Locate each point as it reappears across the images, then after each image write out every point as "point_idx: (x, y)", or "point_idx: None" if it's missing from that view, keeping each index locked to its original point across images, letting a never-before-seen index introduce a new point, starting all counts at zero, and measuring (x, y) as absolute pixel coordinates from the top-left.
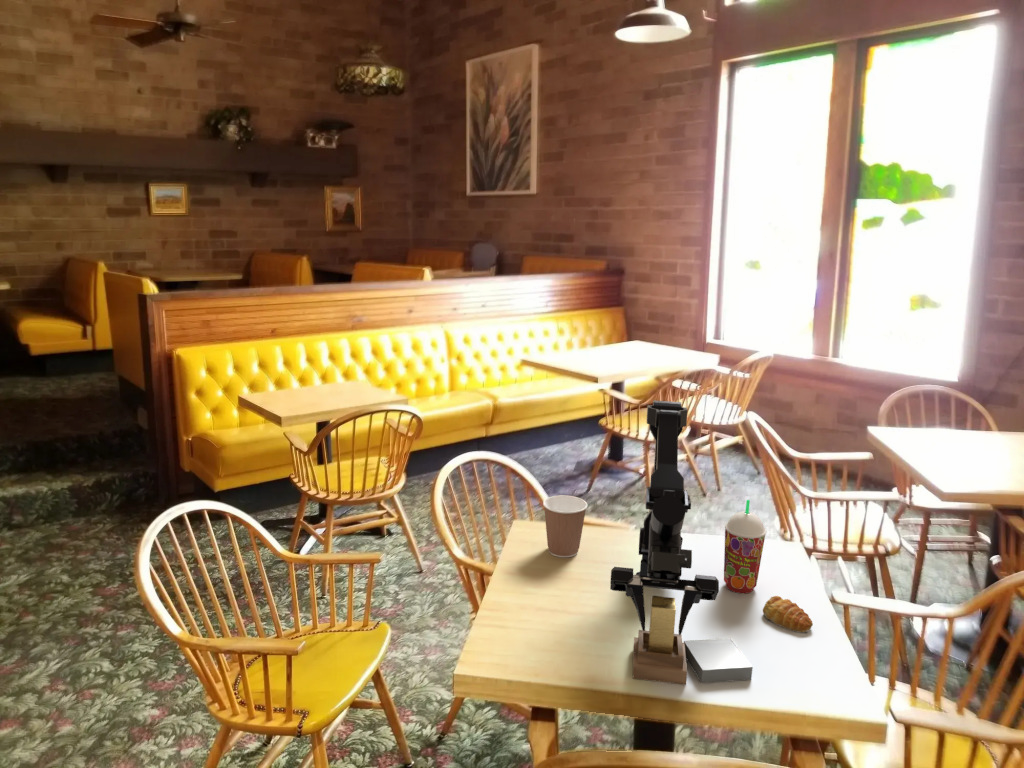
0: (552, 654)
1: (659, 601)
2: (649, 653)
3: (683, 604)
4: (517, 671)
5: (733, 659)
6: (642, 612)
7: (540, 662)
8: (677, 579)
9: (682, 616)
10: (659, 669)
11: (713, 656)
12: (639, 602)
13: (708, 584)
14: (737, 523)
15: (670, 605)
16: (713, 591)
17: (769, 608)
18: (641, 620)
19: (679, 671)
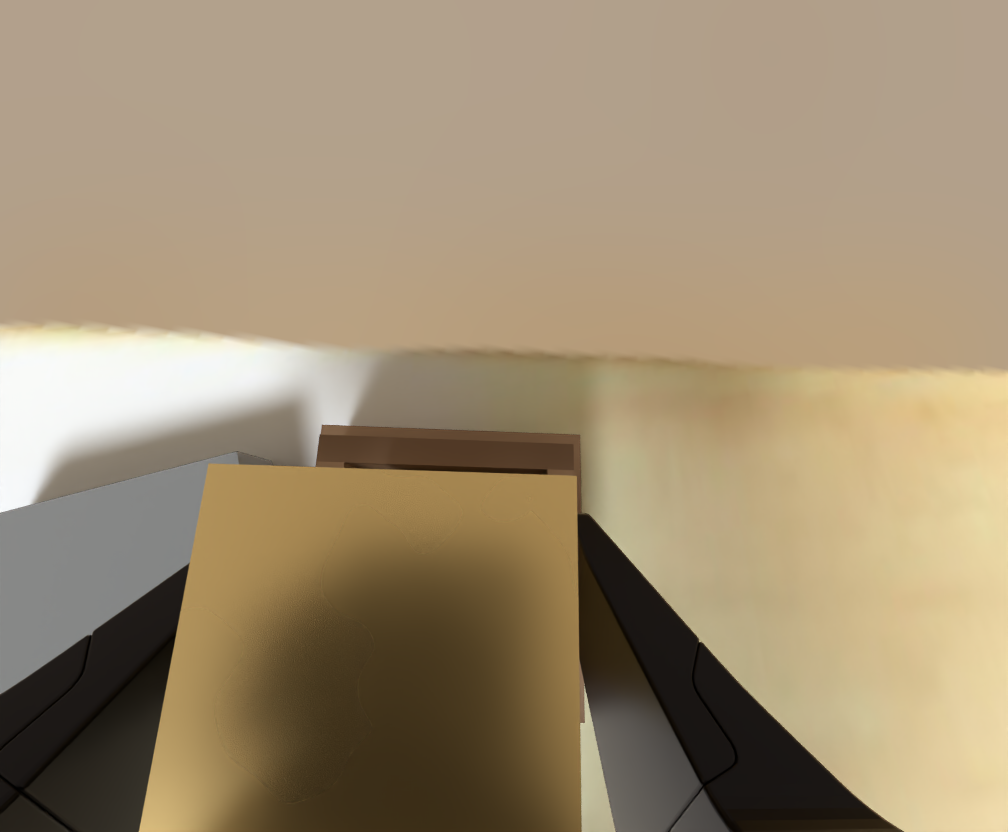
0: (914, 566)
1: (449, 695)
2: (512, 452)
3: (33, 759)
4: (999, 421)
5: (23, 586)
6: (638, 612)
7: (941, 496)
8: None
9: (178, 605)
10: (456, 430)
11: (138, 597)
12: (731, 720)
13: None
14: None
15: (272, 580)
16: None
17: None
18: (619, 553)
19: (360, 427)
